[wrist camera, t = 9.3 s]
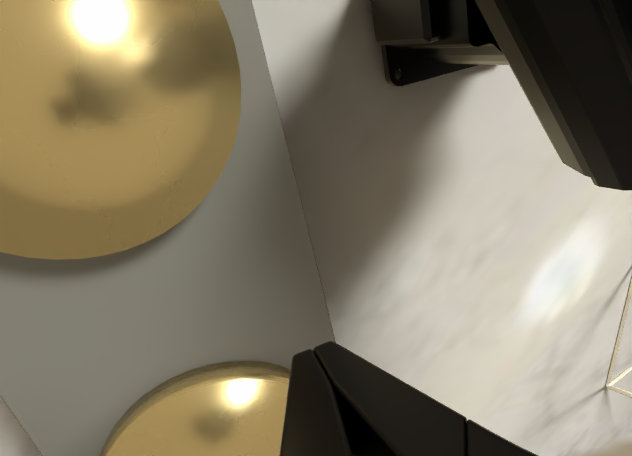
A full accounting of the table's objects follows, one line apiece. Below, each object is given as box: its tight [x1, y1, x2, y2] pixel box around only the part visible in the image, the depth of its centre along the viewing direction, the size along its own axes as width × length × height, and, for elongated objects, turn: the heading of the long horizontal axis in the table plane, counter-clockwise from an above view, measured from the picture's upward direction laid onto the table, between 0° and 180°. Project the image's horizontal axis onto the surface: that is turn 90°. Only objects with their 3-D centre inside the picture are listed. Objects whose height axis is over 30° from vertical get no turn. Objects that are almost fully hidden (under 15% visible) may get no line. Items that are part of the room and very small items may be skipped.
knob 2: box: [101, 361, 291, 456], centre depth 20 cm, size 10×10×5 cm
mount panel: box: [0, 0, 336, 456], centre depth 18 cm, size 12×24×4 cm, turn 14°
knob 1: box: [0, 0, 241, 260], centre depth 14 cm, size 10×10×5 cm
